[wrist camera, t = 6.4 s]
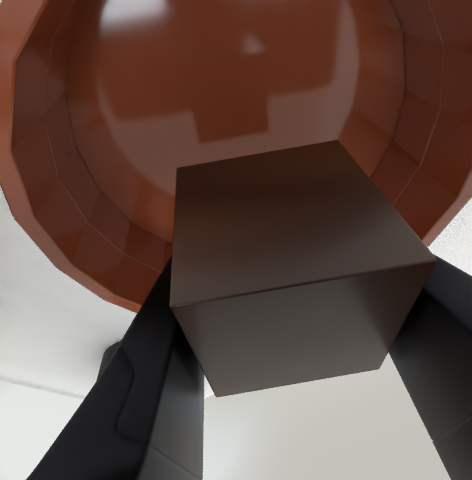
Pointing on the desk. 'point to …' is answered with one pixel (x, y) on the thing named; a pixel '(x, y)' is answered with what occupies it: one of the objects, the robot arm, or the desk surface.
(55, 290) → the desk surface
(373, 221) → the block
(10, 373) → the desk surface
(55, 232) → the bowl
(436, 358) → the robot arm
